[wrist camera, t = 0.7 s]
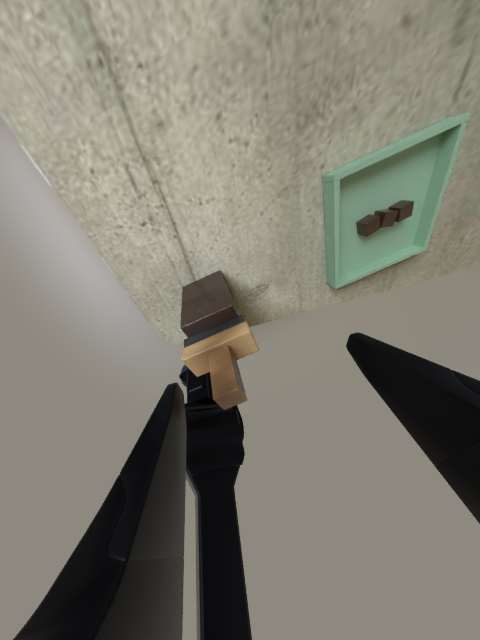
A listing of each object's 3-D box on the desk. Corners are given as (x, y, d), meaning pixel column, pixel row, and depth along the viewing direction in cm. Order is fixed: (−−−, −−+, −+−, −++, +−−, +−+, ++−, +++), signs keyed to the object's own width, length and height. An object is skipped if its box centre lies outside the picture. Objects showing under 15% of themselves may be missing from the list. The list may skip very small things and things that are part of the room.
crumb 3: (399, 213, 22) (412, 215, 21) (387, 220, 22) (398, 222, 21) (401, 199, 21) (414, 200, 20) (388, 206, 21) (400, 208, 20)
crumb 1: (369, 226, 22) (380, 229, 21) (357, 234, 23) (367, 237, 21) (368, 214, 21) (379, 215, 20) (355, 222, 22) (366, 224, 20)
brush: (242, 312, 16) (268, 372, 11) (251, 331, 18) (277, 391, 13) (182, 339, 16) (179, 409, 11) (196, 355, 18) (199, 424, 13)
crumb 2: (381, 223, 22) (392, 226, 21) (370, 225, 22) (380, 228, 21) (386, 208, 22) (399, 210, 20) (374, 210, 21) (386, 212, 20)
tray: (413, 246, 26) (426, 250, 25) (327, 283, 27) (335, 289, 25) (448, 117, 18) (471, 111, 16) (322, 175, 18) (334, 174, 17)
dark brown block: (234, 302, 25) (250, 341, 19) (201, 316, 25) (206, 360, 19) (220, 270, 22) (232, 304, 16) (182, 287, 22) (180, 327, 16)
